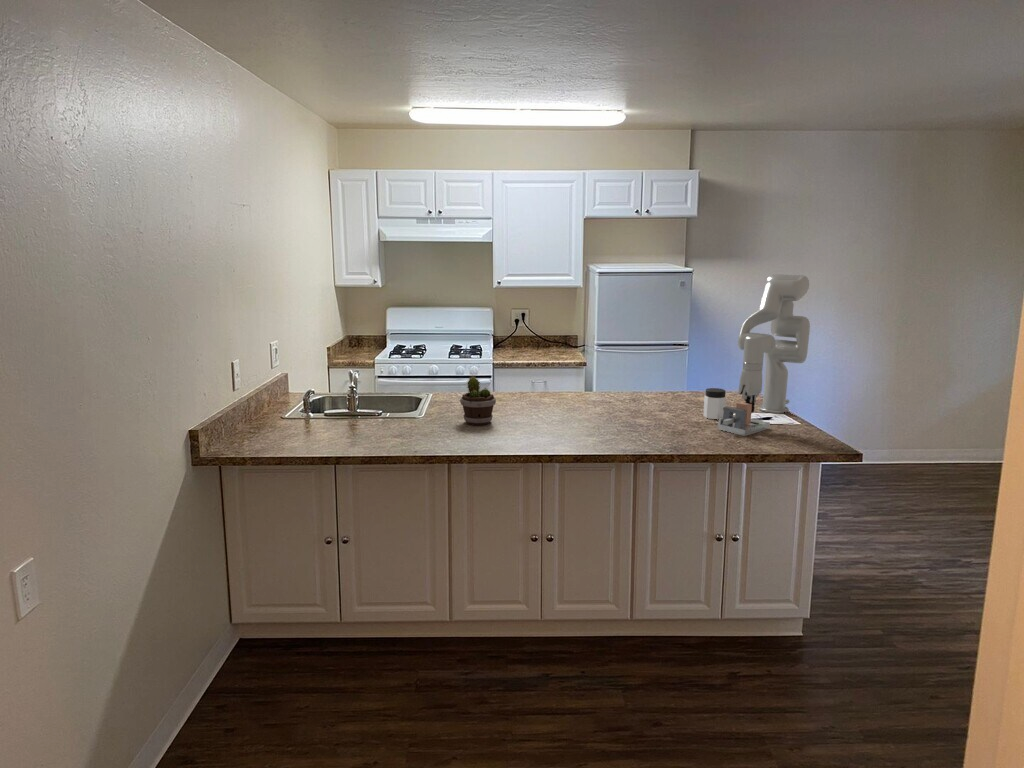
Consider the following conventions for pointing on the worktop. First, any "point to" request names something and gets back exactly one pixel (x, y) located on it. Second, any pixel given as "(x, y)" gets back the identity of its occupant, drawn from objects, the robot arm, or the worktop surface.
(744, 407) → the plunger
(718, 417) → the jar
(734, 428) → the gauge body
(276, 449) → the worktop surface
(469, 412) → the flowerpot
